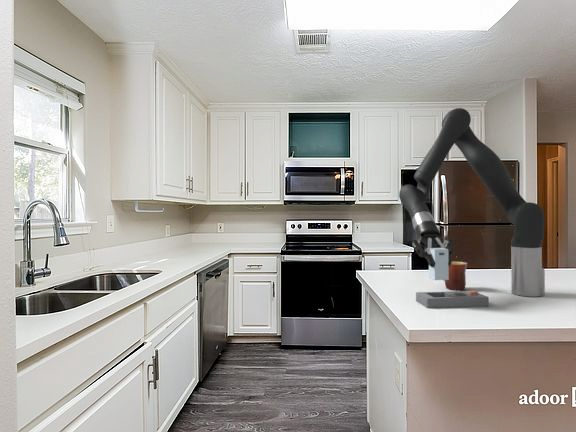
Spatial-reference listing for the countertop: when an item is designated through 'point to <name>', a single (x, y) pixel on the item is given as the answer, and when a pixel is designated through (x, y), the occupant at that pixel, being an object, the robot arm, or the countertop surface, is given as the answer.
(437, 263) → the block
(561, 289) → the countertop surface
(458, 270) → the mug
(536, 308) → the countertop surface
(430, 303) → the power strip
